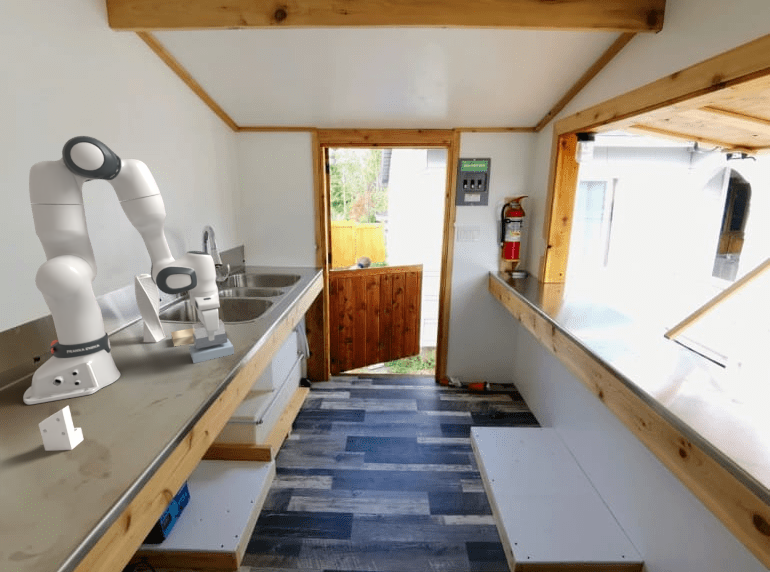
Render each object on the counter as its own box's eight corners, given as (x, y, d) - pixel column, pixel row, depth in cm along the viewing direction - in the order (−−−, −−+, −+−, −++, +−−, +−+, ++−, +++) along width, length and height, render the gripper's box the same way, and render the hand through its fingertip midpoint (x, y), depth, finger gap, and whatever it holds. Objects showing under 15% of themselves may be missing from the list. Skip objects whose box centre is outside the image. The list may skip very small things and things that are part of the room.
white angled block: (89, 439, 85) (62, 409, 83) (54, 460, 86) (26, 431, 84) (100, 429, 89) (74, 400, 87) (67, 449, 90) (40, 421, 88)
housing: (196, 348, 129) (193, 329, 128) (193, 343, 134) (191, 324, 132) (227, 342, 134) (225, 323, 133) (224, 337, 139) (221, 319, 138)
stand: (193, 363, 128) (192, 355, 128) (190, 354, 136) (189, 346, 135) (234, 354, 135) (233, 346, 134) (228, 346, 142) (228, 338, 142)
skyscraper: (172, 336, 153) (161, 268, 147) (158, 344, 146) (146, 272, 139) (152, 336, 154) (140, 267, 147) (138, 344, 146) (125, 272, 140)
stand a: (174, 346, 142) (173, 339, 142) (172, 339, 150) (171, 332, 149) (212, 339, 149) (211, 332, 149) (208, 332, 157) (207, 325, 156)
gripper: (190, 293, 137) (195, 329, 141) (198, 306, 121) (204, 348, 124) (209, 290, 141) (213, 326, 144) (220, 303, 124) (225, 343, 127)
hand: (209, 336), depth 134 cm, fingers closed on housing, 6 cm apart
